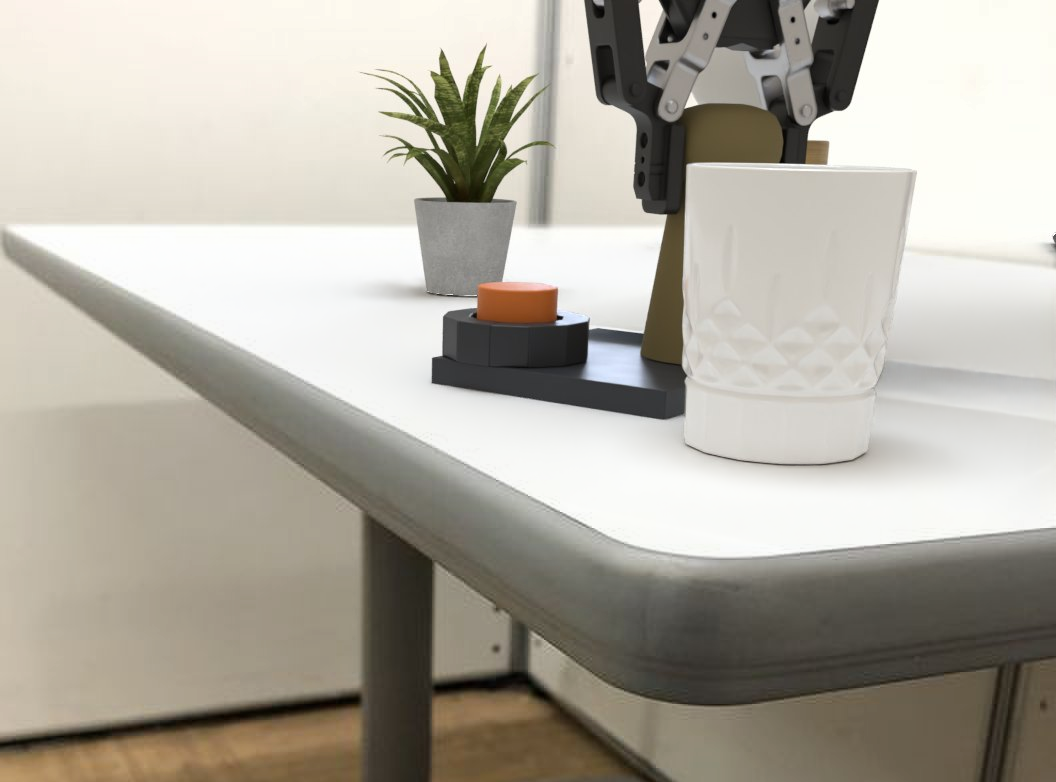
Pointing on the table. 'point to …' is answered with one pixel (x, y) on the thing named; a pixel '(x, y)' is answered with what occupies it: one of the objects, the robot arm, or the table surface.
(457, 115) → the house plant
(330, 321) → the table surface
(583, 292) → the table surface
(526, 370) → the scale
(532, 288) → the button
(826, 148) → the lamp
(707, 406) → the white cup
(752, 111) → the cork
